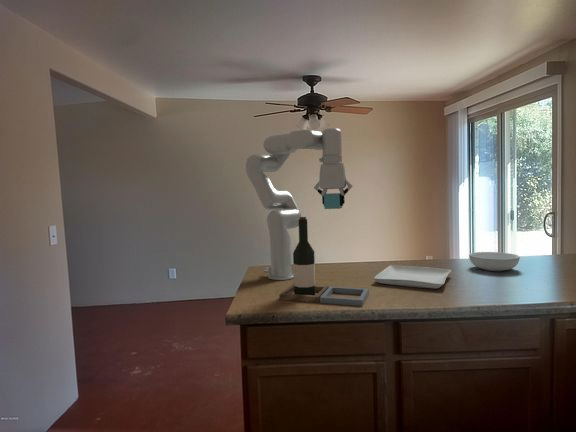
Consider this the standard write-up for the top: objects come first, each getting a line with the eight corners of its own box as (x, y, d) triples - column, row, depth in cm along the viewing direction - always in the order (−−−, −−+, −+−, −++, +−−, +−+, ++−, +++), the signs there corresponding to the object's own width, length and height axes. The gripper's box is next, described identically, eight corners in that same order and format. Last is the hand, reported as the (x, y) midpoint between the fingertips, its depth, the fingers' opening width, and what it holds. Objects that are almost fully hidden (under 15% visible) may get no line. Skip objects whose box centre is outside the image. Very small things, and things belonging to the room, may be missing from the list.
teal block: (324, 208, 146) (323, 193, 146) (327, 208, 152) (327, 193, 152) (339, 208, 144) (339, 193, 144) (342, 207, 150) (342, 193, 150)
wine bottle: (309, 299, 136) (307, 218, 134) (290, 296, 140) (287, 217, 138) (319, 293, 143) (317, 216, 141) (301, 291, 147) (298, 216, 145)
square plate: (389, 272, 177) (389, 264, 177) (451, 277, 164) (451, 268, 163) (372, 285, 154) (372, 276, 154) (443, 293, 140) (443, 282, 140)
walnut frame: (279, 299, 137) (279, 294, 137) (293, 289, 151) (292, 284, 151) (318, 302, 132) (318, 297, 132) (328, 291, 146) (328, 286, 146)
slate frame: (320, 302, 132) (320, 297, 132) (330, 291, 146) (330, 286, 146) (362, 306, 127) (362, 300, 127) (368, 294, 141) (368, 288, 141)
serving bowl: (519, 267, 178) (519, 252, 177) (519, 276, 160) (519, 260, 160) (471, 263, 189) (471, 250, 189) (466, 271, 172) (466, 257, 171)
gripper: (308, 161, 146) (310, 206, 148) (352, 158, 141) (353, 205, 142) (313, 162, 153) (315, 205, 155) (355, 159, 148) (356, 205, 149)
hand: (333, 205), depth 148 cm, fingers closed on teal block, 6 cm apart
